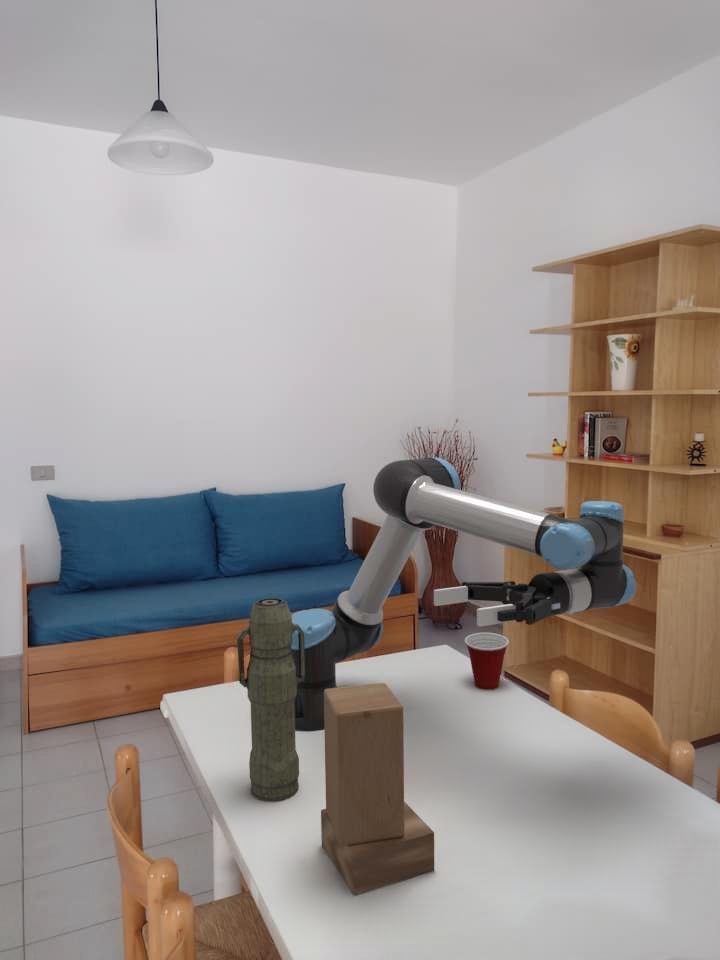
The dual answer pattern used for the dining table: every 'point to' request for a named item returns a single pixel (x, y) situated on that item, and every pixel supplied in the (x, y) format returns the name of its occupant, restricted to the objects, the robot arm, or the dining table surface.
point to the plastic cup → (486, 658)
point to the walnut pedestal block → (382, 855)
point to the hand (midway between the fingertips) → (455, 607)
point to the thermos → (272, 698)
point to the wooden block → (364, 763)
